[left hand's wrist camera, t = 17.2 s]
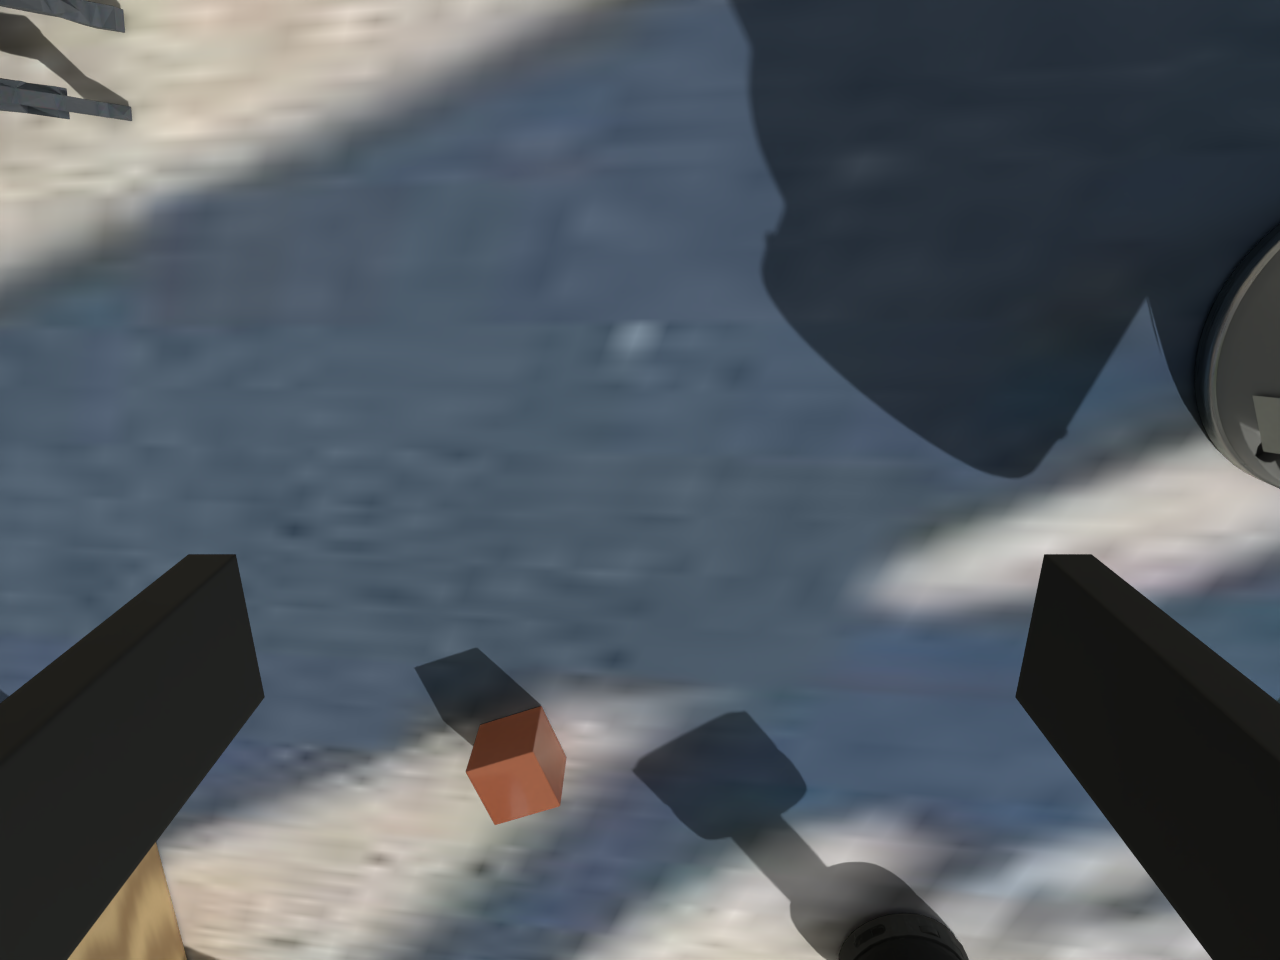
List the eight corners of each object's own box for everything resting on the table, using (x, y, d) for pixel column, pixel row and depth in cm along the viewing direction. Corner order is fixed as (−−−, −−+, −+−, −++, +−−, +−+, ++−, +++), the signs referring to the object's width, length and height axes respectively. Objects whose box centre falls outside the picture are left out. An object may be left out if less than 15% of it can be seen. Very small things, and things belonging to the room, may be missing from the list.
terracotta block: (541, 705, 45) (532, 751, 41) (566, 757, 46) (560, 806, 43) (479, 724, 46) (465, 771, 42) (506, 775, 47) (494, 825, 43)
